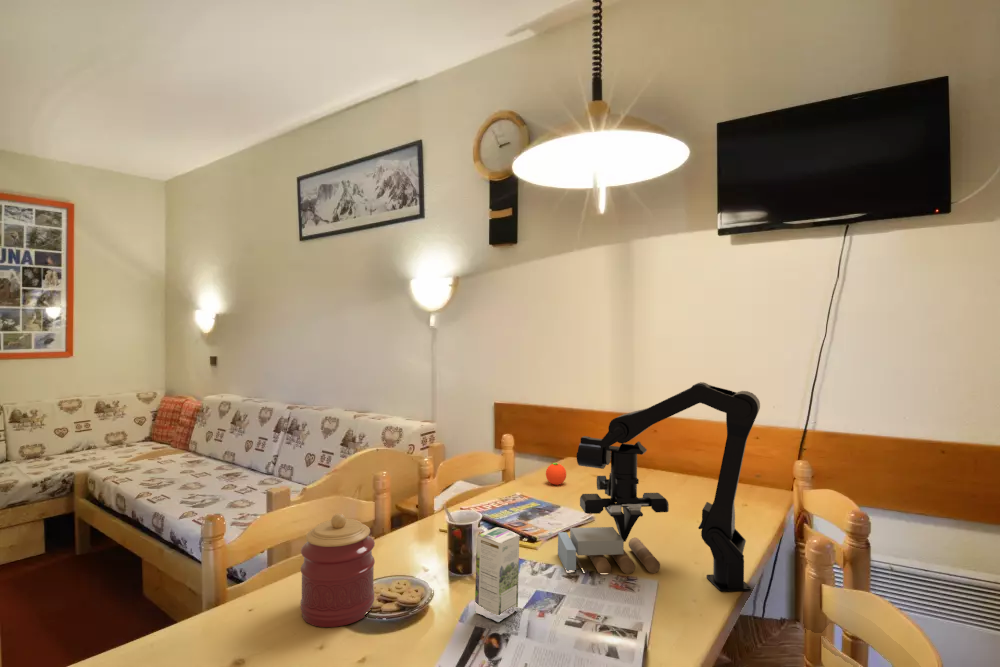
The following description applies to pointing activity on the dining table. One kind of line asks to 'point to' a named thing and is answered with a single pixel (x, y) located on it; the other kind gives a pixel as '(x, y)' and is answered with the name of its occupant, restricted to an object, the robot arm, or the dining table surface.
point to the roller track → (641, 554)
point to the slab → (597, 541)
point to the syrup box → (497, 570)
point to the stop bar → (566, 551)
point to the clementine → (556, 474)
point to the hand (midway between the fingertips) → (623, 541)
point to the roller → (600, 563)
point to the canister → (337, 573)
